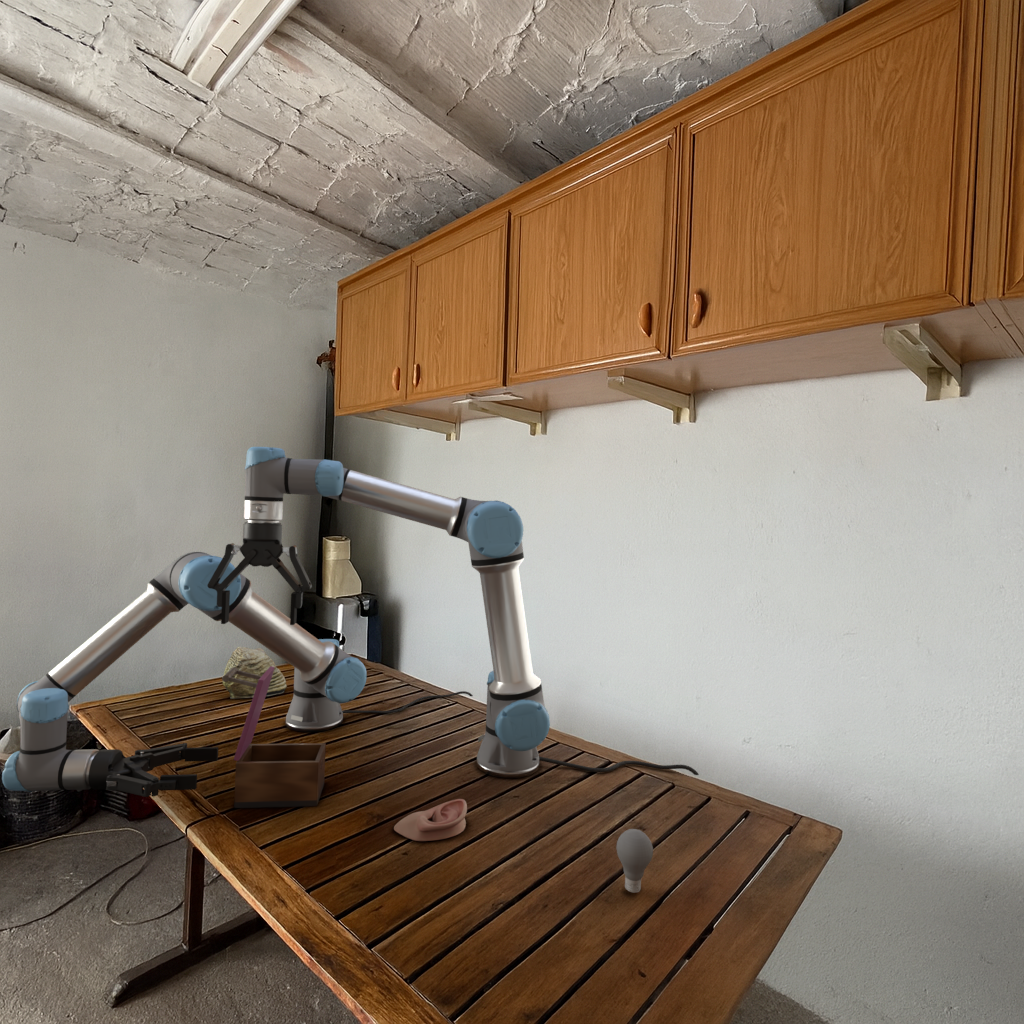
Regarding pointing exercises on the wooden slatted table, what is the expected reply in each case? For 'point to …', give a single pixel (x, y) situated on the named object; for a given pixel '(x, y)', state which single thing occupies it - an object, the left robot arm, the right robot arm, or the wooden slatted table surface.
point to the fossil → (252, 672)
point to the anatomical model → (434, 822)
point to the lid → (255, 705)
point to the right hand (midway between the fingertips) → (259, 623)
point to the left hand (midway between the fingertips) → (207, 767)
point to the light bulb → (634, 857)
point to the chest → (280, 775)
